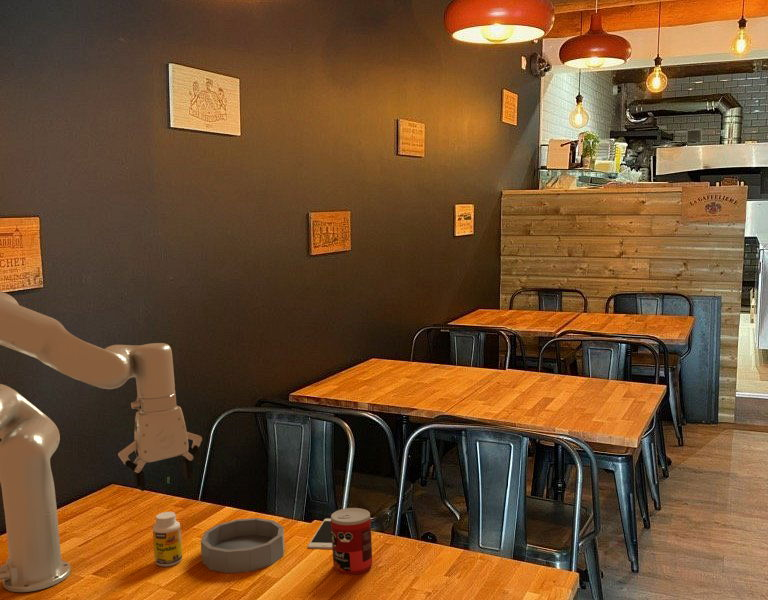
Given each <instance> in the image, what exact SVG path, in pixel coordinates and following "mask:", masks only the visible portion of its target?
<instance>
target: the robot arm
mask: <svg viewBox="0 0 768 600" xmlns="http://www.w3.org/2000/svg"><path fill="white" fill-rule="evenodd" d="M0 346H3V347H5V348H8V349H11V350H13V351H16V352H19V353H22V354H24V355H25V356H29V357H32V358H34V359H37V360H38V361H40V362H41V363H42V364H44V365H46V366H49V368H52V369H54V370H55V371H57V372H59V373H61V374H63V375H65V376H67V377H70V378H72V379H74V380H77V381H80V382H82V383H85V384H88V385H90V386H93V387H96V388H99V389H104V390H105V389H106V390H113V389H118V388H120V387H122V386H123V385H125V383H126V382H127V381H128V380H129V379H131V378H135V383H136V394H137V396H136V400H135V401H133V402H131V403H130V405H131V406H130V407H131V409H133V410H134V409H136V410H138V411H136V413H135V418H134V437H133V438H134V441H133V442H131V443H130V444H129V445H127V446H126V447H124V448H123V449H122V450H120V451H119V452H118V453H117V455H118V458H119V459H120V460H121V461H122V463H123V465H125V466H126V467H127V468H129V469H131V470H132V471H133V478H134V486H135V488H138V489H139V490H140V491H141V492H144V491H145V490H146V482H145V472H144V471H143V468H144V467H145V465H146V464H147V463H153V462H158V461H162V460H168V459H172V458H175V457H179V456H182V458H181V459H180V460H181V468H182V471H181V472H182V477H183V478H185V479H186V480H188V481H189V480H190V481H191V479H192V474H193V463H192V461H193V460H194V457H195V455H196V454H197V453H198V451H199V450H200V449H199V448H200V446H201V444H202V441H203V437H202V436H201V435H200V434H199V435H198V434H195V433H192V432H189V431H187V426H186V421H185V417H184V413H183V410H182V408H181V406H179V405H177V395H176V384H175V373H174V362H173V361H174V360H173V351H172V347H171V346H170V345H169V344H168V343H164V342H155V343H154V342H152V343H147V344H141V345H131V344H112V345H109V346H107V347H105V348H102V347H100V346H97V345H95V344H93V343H90V342H87V341H85V340H83V339H80V338H79V337H77V336H75V335H73V334H72V333H71V332H69V331H68V330H67V329H66V328H65V326H64V324H62V323H61V322H60V321H59V320H58V319H55V318H53V317H51V316H48V315H46V314H43V313H41V312H37V311H35V310H33V309H30V308H27V307H25V306H23V305H20V304H19V303H18V301H17V300H16V299H15V297H13V296H12V295H10V294H8V293H6V292H2V291H0ZM0 439H1V441H0V487H1V494H2V501H3V502H2V503H3V510H4V518H5V528H6V529H5V530H6V540H7V549H8V550H7V551H8V558H6V559H5V563H4V564H1V565H0V566H1V567H0V581H2V586H3V588H4V590H6V591H9V592H13V593H28V592H35V591H40V590H43V589H46V588H47V589H48V588H50V587H53V586H56V585H57V584H59V583H61V582H62V581H64V580H65V579H67V578H68V576H69V575H70V574H71V565H70V563H69V562H67V561H65V560H62V554H61V551H62V550H61V542H60V530H59V519H58V508H57V500H56V497H57V496H56V490H55V489H56V488H55V481H54V476H53V472H52V468H51V458H52V456H53V454H55V452H56V451H57V449H58V447H59V444H60V440H61V435H60V430H59V428H58V426H57V424H56V423H55V422H54V420H52V419H51V418H50V417H49V416H47V414H45V413H43V412H42V411H41V409H39V408H37V406H35V404H33V403H32V402H30V401H29V400H28V399H26V398H25V397H24V396H23V395H22V394H20V393H19V392H18V391H17V390H15V389H13V388H11V387H10V386H8V385H6V384H2V383H0ZM189 440H191V441H192V444H191V446H190V447H189ZM133 452H135V456H136V458H135V459H134V461H131V459H130V458H129V455H130V454H132V453H133Z"/></svg>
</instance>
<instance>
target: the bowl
mask: <svg viewBox="0 0 768 600" xmlns="http://www.w3.org/2000/svg"><path fill="white" fill-rule="evenodd" d="M284 530H285V529H284V526H283V525H282V524H280V523H279V522H277V521H275V520H272V519H267V518H259V517H252V518H239V519H238V518H237V519H233V520H230V521H225V522H223V523H218V524H216V525H214V526H213V527H211V528H209V529H208V530H206V531H205V532H204V533H203V535H202V538H201V540H200V549H201V550H200V551H201V562H202V564H203V565H204V566H206V567H207V568H208V569H209V571H216V572H219V573H220V572H221V573H226V574H236V573H248V572H249V573H250V572H253V571H257V570H260V569H264V568H267V567H269V566H272V565H273V564H275V563H277V561H279V560H280V559H281V558H282V557H284V556H285V555H284V553H285V546H286V545H285V531H284Z"/></svg>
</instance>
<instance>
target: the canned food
mask: <svg viewBox="0 0 768 600" xmlns="http://www.w3.org/2000/svg"><path fill="white" fill-rule="evenodd" d="M330 519H331V533H332V549H331V550H332V564H333V568H334V570H335V571H336V572H337V573H339V574H340V575H341V574H342V575H345V576H346V575H348V576H352V575H353V576H354V575H360V574H363V573H365V572H368V571H369V570H370V569H371V568H372V564H373V545H372V525H371V522H372V521H371V512H370V511H368V510H367V509H364V508H361V507H360V508H358V507H346V508H342V509H338V510H335V511H334V512H333V513H331V516H330Z"/></svg>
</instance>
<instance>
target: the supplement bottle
mask: <svg viewBox="0 0 768 600" xmlns="http://www.w3.org/2000/svg"><path fill="white" fill-rule="evenodd" d="M181 532H182V531H181V523H180V522H179V521H177V518H176V513H175V512H173V511H164V512H160V513H158V514H157V515H155V524H154V525H153V527H152V538H153V540H152V541H153V553H154V555H153V556H154V562H155V565H157V566H159V567H165V568H167V567H172V566H175V565H177V564H179V563H180V562H181V561H182V560H183V551H182V550H183V549H182V535H181Z"/></svg>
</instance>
